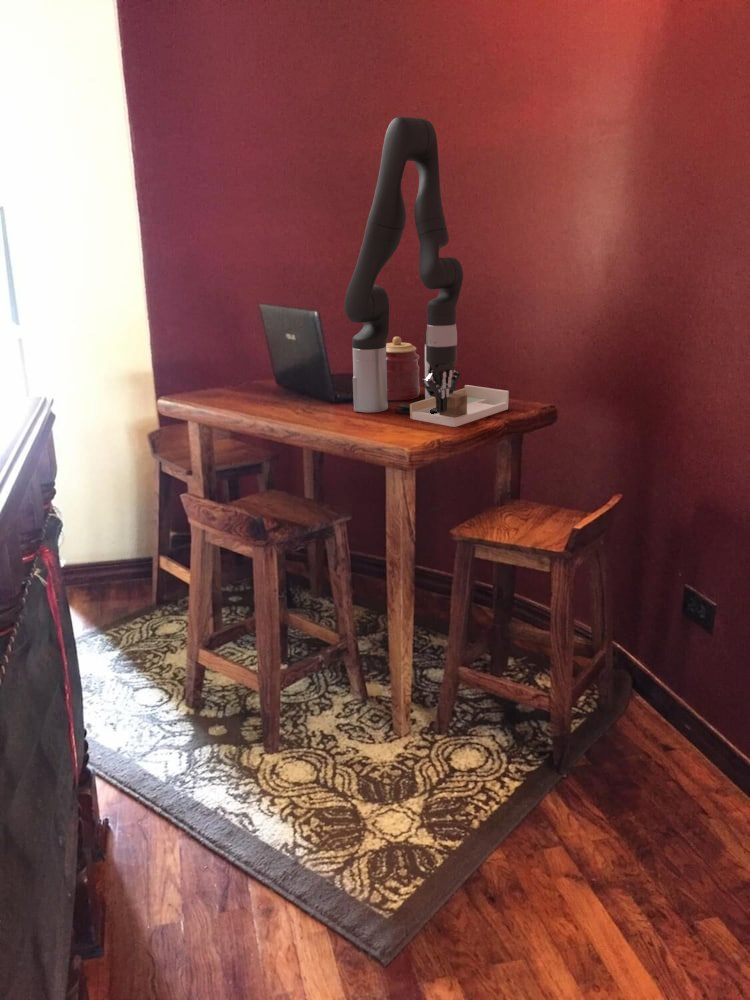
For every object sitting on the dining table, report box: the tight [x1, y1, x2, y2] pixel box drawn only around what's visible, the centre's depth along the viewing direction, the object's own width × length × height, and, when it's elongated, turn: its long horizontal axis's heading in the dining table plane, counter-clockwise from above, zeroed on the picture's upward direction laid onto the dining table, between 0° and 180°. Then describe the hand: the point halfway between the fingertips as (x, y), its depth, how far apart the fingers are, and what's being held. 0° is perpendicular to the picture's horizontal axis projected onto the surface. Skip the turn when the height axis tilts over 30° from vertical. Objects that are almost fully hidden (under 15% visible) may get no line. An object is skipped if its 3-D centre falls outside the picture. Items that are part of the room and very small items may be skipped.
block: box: [439, 393, 467, 418], centre depth 199 cm, size 5×5×5 cm
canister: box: [386, 336, 421, 402], centre depth 228 cm, size 13×13×18 cm
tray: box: [409, 384, 510, 428], centre depth 208 cm, size 24×15×5 cm, turn 137°
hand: (441, 412), depth 196 cm, fingers closed
